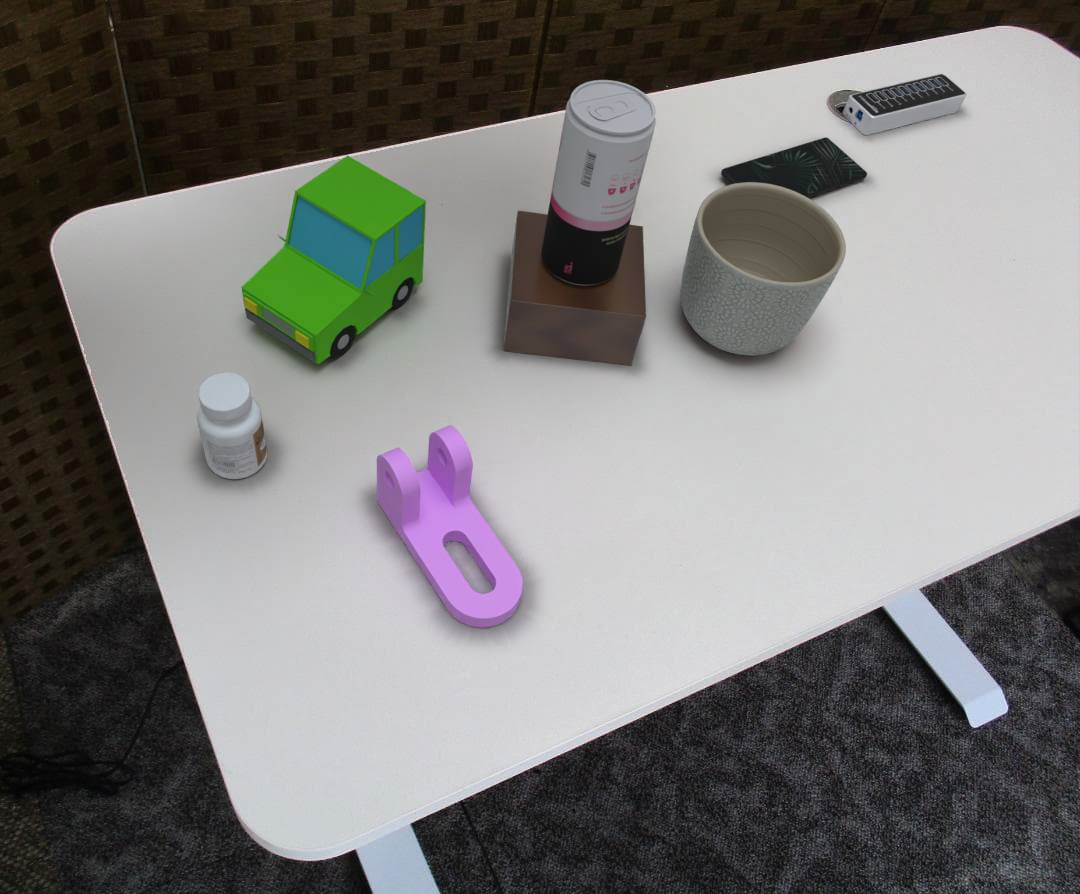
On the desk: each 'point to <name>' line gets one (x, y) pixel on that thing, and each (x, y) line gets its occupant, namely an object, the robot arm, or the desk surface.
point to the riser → (573, 302)
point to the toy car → (339, 261)
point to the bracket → (448, 528)
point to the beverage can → (596, 180)
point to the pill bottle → (231, 426)
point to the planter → (758, 266)
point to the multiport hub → (903, 104)
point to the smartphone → (800, 168)
